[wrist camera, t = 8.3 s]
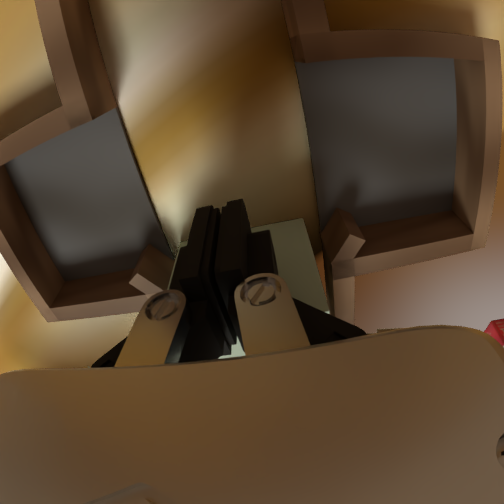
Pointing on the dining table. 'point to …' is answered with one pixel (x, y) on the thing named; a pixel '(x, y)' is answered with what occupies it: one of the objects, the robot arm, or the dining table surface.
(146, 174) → the dining table surface
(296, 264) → the block
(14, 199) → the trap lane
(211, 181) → the dining table surface
